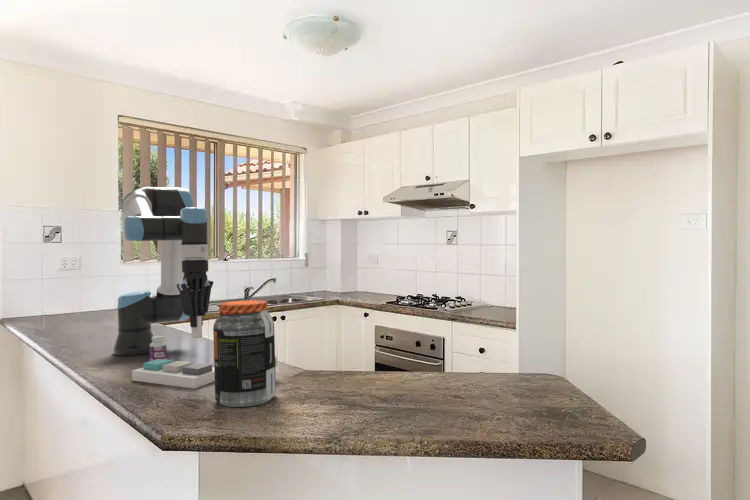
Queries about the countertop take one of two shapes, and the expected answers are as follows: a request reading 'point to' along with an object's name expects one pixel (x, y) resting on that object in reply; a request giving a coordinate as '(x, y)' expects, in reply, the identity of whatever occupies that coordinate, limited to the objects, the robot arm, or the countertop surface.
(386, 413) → the countertop surface
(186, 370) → the charcoal key
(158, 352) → the pill bottle
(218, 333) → the supplement tub
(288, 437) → the countertop surface
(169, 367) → the grey key
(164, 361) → the teal key
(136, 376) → the keypad
